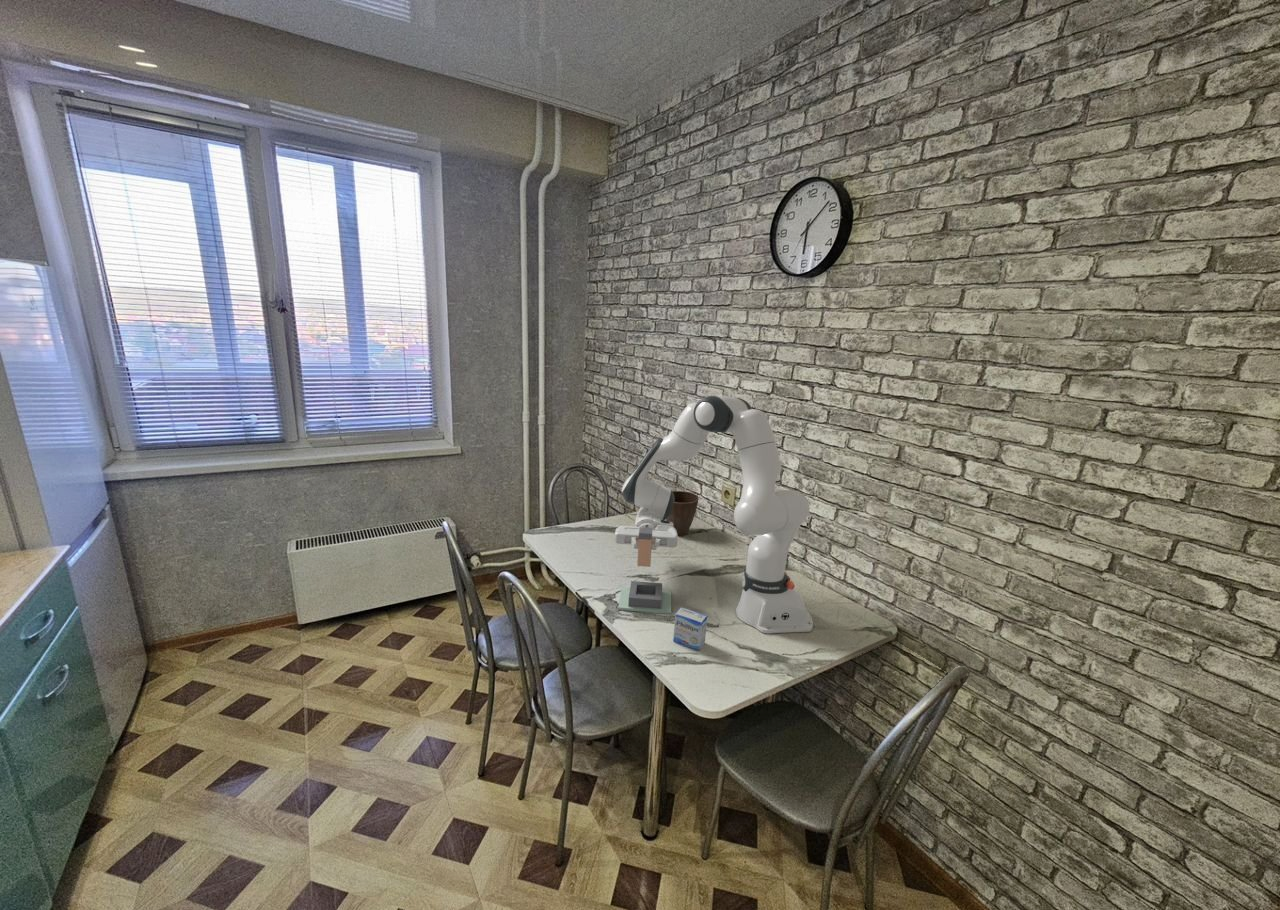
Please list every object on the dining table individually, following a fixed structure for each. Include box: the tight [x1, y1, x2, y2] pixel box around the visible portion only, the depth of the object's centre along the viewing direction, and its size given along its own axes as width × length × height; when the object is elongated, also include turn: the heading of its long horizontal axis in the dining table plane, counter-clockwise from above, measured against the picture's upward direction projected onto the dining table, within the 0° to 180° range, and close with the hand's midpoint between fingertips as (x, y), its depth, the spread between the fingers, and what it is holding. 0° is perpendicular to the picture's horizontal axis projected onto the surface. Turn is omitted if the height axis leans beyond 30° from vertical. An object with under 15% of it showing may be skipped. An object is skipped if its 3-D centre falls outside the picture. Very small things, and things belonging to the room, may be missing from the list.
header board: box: [617, 580, 672, 615], centre depth 153 cm, size 16×12×4 cm
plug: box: [637, 528, 653, 568], centre depth 151 cm, size 4×4×11 cm
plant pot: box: [665, 490, 699, 537], centre depth 204 cm, size 15×15×16 cm
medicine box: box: [672, 606, 708, 651], centre depth 133 cm, size 8×4×9 cm, turn 62°
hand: (645, 547), depth 150 cm, fingers closed on plug, 4 cm apart
